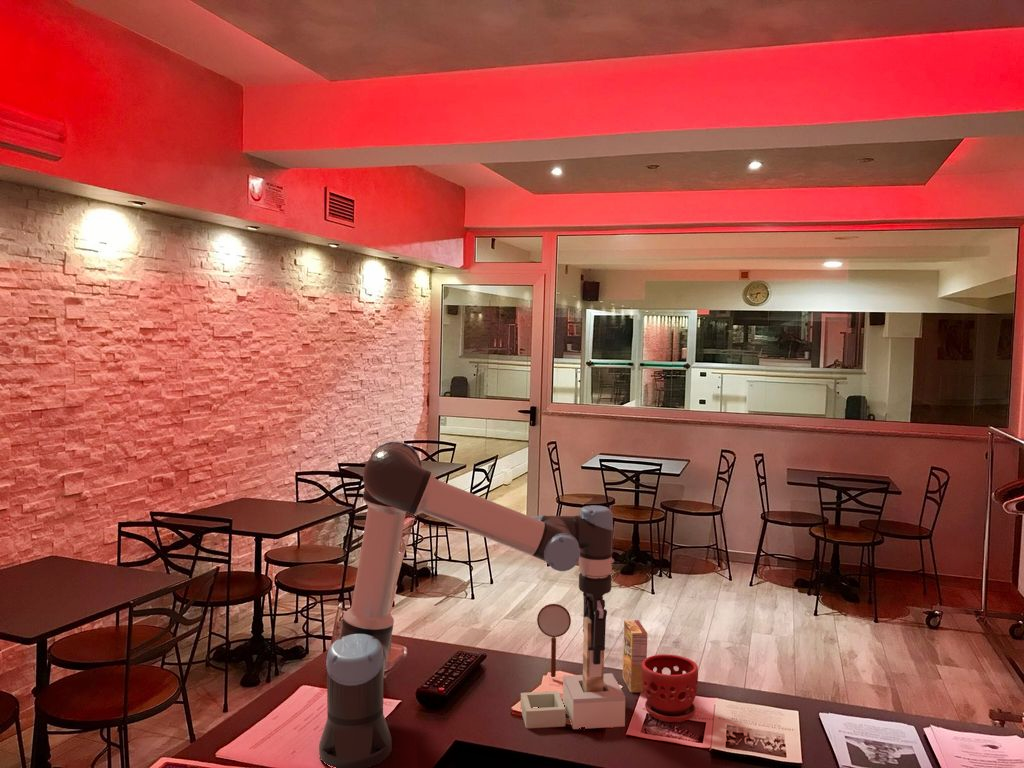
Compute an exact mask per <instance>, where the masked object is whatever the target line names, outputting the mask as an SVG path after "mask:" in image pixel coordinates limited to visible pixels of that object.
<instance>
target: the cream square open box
mask: <svg viewBox="0 0 1024 768" xmlns="http://www.w3.org/2000/svg"><path fill="white" fill-rule="evenodd" d="M533 707H539V708H533ZM521 709H522V712H521V715H522V719H523V723H524V726H525V729H541V728H558V727H559V728H560V727H566V709H565V707H564V704H563V698H561V695H560V692H559V690H553V691H551V690H549V691H533V692H531V691H529V692H520V710H521Z"/></svg>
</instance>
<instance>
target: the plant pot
mask: <svg viewBox="0 0 1024 768" xmlns="http://www.w3.org/2000/svg"><path fill="white" fill-rule="evenodd" d="M674 667H678V670H675V668H674ZM655 668H656V671H654V669H655ZM666 668H667V669H669V670H670V674H668V673H667V674H666V673H663V670H664V669H666ZM683 672H685V673H683ZM641 675H642V685H643V690H644V692H643V693H644V697H645V698H646V701H645V703H644V706H645V707H644V708H645V710H646V712H647V714H649V715H650V716H652V717H653V718H655V719H657V720H660V721H662V722H668V723H681V722H685V721H687V720H689V719H691V718H692V717H693V716H694V715H695V713H696V706H695V704H694V702H695V698H696V695H697V691H698V683H699V667H698V664H697V663H696V662H695V661H693V660H692V659H690V658H688V657H685V656H680V655H678V654H677V655H676V654H667V653H666V654H655V655H651V656H648V657H647V658H646V659H644V660H643V662H642V665H641Z"/></svg>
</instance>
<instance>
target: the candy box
mask: <svg viewBox="0 0 1024 768" xmlns="http://www.w3.org/2000/svg"><path fill="white" fill-rule="evenodd" d="M623 622H624V623H623V625H624V626H623V648H622V649H623V650H622V651H623V653H622V678H623V681H624V683H625V684H626V687H627V689H628V690H629V692H630V693H632V694H633V693H644V690H643V685H642V675H641V665H642V662H643V660H644V659H646V658H648V657H647V656H648V655H647V654H648V653H647V652H648V632H647V631H646V629H645V628H644V626H643V625H642V622H640V620H639V619H625V620H624V621H623Z"/></svg>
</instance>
